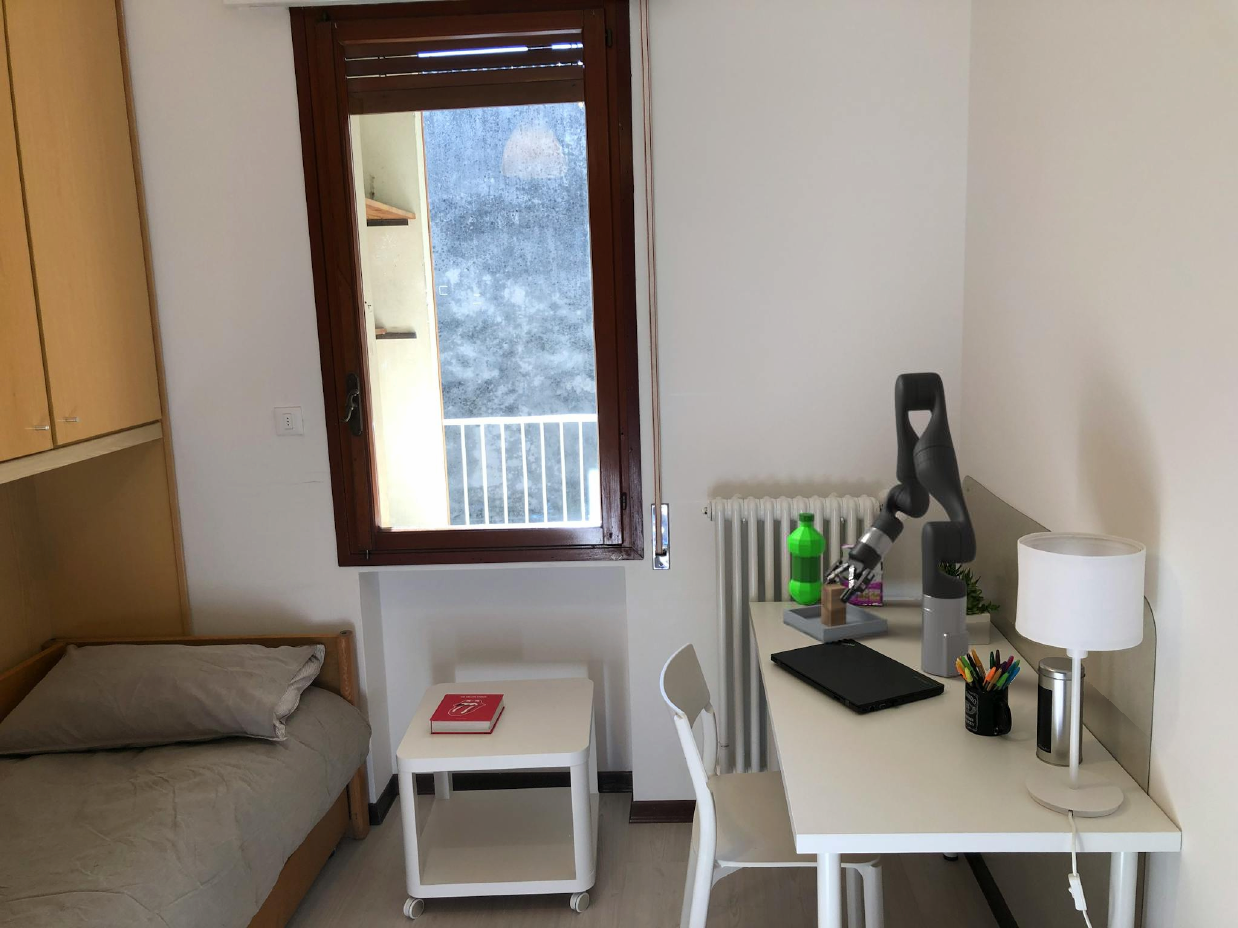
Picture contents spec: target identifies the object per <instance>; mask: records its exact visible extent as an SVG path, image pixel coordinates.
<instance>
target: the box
mask: <svg viewBox="0 0 1238 928" xmlns="http://www.w3.org/2000/svg"><path fill="white" fill-rule="evenodd" d="M782 610H783V611H782V613H783V615H782V617H783V618H782V620H783V621H782V623H783V624H785V625H787V626H788V627H791V628H793V629H794V630H796V631H799V632H800V633H803V634H804V635H807V636H808V637H811V638H812V639H814V640H816V641H817V642H820V643H822V644H826V642H828V643H833V642H832V641H834V642H838V640H841V639H847V640H851V639H852V640H854V639H858V638H864V637H871V636H872V637H873V636H877V635H885V634H884V633H886V634H888V619H887V618H885V617H882V616H879V615H877V614H874V613H872V612H870V611H867V610H866V609H863V608H861V607H858V606H857V605H851V604H849V603H846V625H840V626H834V627H828V626H826V625H824V624H821V604H815V605H807V606H801V607H800V606H799V607H793V608H786V609H785V608H784V609H782ZM841 641H842V640H841Z"/></svg>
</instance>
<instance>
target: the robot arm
mask: <svg viewBox="0 0 1238 928" xmlns="http://www.w3.org/2000/svg"><path fill="white" fill-rule="evenodd" d="M942 379H943V378H941V375H940V374H938V373H937V372H934V371H933V372H932V371H931V372H929V371H927V372H908V373H907V372H906V373H900V374H899V375H897V378H896V379H895V383H894V412H895V413H894V414H895V426H896V427H895V428H896V429H895V431H896V439H897V441H896V442H897V444H896V445H897V457H896V469H895V470H896V475H895V476H896V479H897V481H898V482H899V483H898V484H896V485H894V486H893V487H891V488H890V489H889V491H888V493H887V496H886V498H885V501H884V503H883V506H882V508H881V510H880V512H879V515H878V516H877V518H876V519H875V520H874V522H873V523H872V524H871V525H870V526H869V527H868V529H866V530H865V532H864V533H863V534H862V535H861V536H860V537H859V539H858V540H857V541H856V542H855V543H854V544H855V545H854V546H853V548H852V549H851V550H850V551H849V553H848V556H849V559H848V560H847V561H846V562H843V561H842V558H837V560H836V561H835V562H834V563H833V564H832V565H831V566H830V567H829V569H828V570H827V571H826V572H825V574H824V576H825V577H826V578H827V580H826V581H825V583H823V585H828V584H836V583H837V584H840V582H841V583H842V582H844V581H845V580H846V581H850V583H849V588H847V589H846V590H845V591H844V592H843V594H842V595H841V596H840V598H839V600H840V601H841V602H842V603H843V604H846V603H847V602H848V601H849V600H850V599H851V598H852V596H853V595H854V594H856V593H858V592H860V593H863V592H864V591H865V590H866V588H867V587H868V585H869V584H870V583H871V581H872V580H873V578H874V577H875V574H874V573H873V572H872V571H873V570H874V569H875V567H876V566H877V565H878V563H879V562H880V561H881V560H882V558H883V559H884V557H885V556H886V555H887V553H888V552H889V550H890V549H891V547H892V545H893V544H894V542H896V540H897V539H898V538H899V537H900V535H901V533H902V532H903V530H904V527H905V525H904V523H903V522H902V521H901V520H900V518H899V517H897V516H896V515H897V513H898V512H900V513H901V514H904V515H905V516H907V517H909V518H913V519H920V518H922V517H924V516H925V515H926V514H927V512H928V511H929V508H930V505H931V504H930V503H931V500H930V499H931V498H930V495H931V496H932V497H933V498H934V499H935V500H936V501H937V502H938V503H939V504H940V505H941V506H942V508H943V509H944V510H945V512H946V514H947V517H948V518H949V520H946V521H945V520H941V521H940V520H938V521H937V520H936V521H934V520H933V521H931V520H930V521H927V522H925V523H924V524H923V526H922V528H921V529H922V530H921V537H920V540H921V543H920V545H921V548H920V549H921V578H922V579H921V580H922V581H921V582H922V594H921V631H920V634H921V639H920V641H921V643H920V651H921V652H920V668H921V670H922V671H924V672H926V673H927V674H931V675H935V676H941V677H943V678H951V677H955V676H961V675H960V674H959V672H958V670H957V667H956V661H957V658H959V657H960V656H965V655H967V654H968V655H969V649H970V648H969V647H970V646H969V644H970V633H969V631H968V630H966V629H967V597H968V596H967V595H968V593H967V592H968V586H967V583H966V581H964V580H963V579H962V578H960V577H957V576H953V575H950V574H948V573H945V572H944V571H943V570H941V566H940V565H941V564H943V565H944V564H949V565H950V564H951V565H952V564H969V563H972V562H973V561H974V560H975V559H976V555H977V539H976V535H975V534H976V532H975V529H974V527H973V523H972V520H971V516H970V514H969V510H968V507H967V503H966V499H965V496H964V493H963V486H962V483H961V481H962V480H961V476H960V470H959V464H958V459H957V455H956V451H955V447H954V442H953V439H952V435H951V429H950V425H949V419H948V412H947V410H948V409H947V401H946V395H945V388H944V384H943V380H942ZM919 411H920V412H921V411H929V412H930V414H931V416H930V419H929V422H928V424H927V425H926V428H925V429H924V431H922V434H921V435H920V437H919V435H918V434H917V433H916V431H915V429H914V427H913V425H912V424H911V421H910V416H909V412H919ZM862 583H864V585H863V586H862V587H861V584H862ZM820 592H821V590H820Z"/></svg>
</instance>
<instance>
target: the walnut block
mask: <svg viewBox="0 0 1238 928" xmlns="http://www.w3.org/2000/svg"><path fill="white" fill-rule="evenodd" d="M846 589H847V588H846V587H844V586H842V584H840V583H836V584H828V585H824V584H823V585H821V598H820V599H821V601H820V602H821V603H820V605H821V624H824V625H826V626H828V627H834V626H840V625H846V604H843V603H842V602H841V601H840V600H839V598H840V596H841V595H842V594H843V592H844V591H845V590H846Z"/></svg>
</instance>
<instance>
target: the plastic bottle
mask: <svg viewBox="0 0 1238 928" xmlns="http://www.w3.org/2000/svg"><path fill="white" fill-rule="evenodd" d="M798 521H799V522H800V526H799V527H798V528H796V529H795V530H794V531H793V532H792V533H791V534H790V535H789V536H788V538H787V540H786V541H787V543H786V544H787V549H788V551H789V552H790V553H791V580H790V581H789V583H788V592H789V593H790V595H791V597H792V598H793V599H794V600H795V601H796V602H797V603H798V604H802V605H813V604H815V603H817V601H819V600H820V599H821V592H820V590H821V585H824V583H823V582H822V580H821V579H822V576H821V575H822V554H823V553H825V551H826V545H827V543H826V539H825V537H824V536H823V534H821V533H820V532H819V530H817V529H816V528H815V527H814V526H813V522H815V513H812V512H801V513H800V512H799V513H798Z"/></svg>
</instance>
